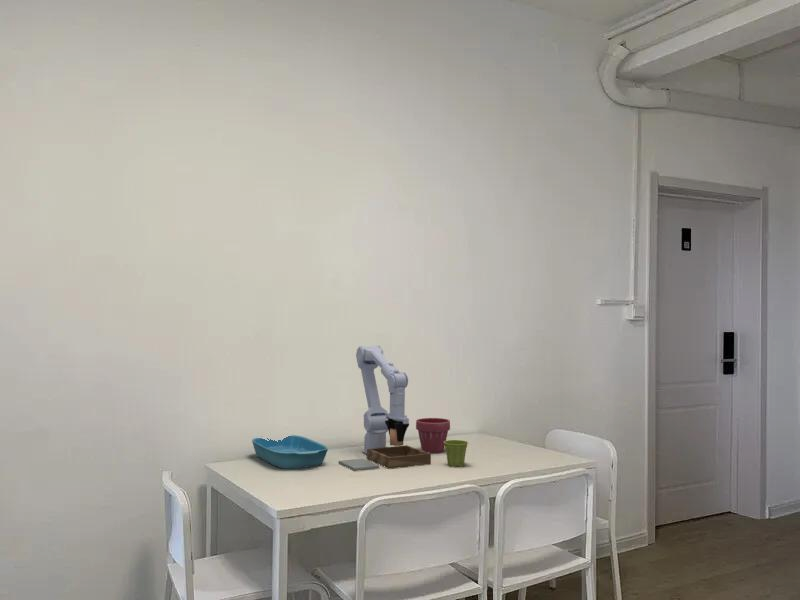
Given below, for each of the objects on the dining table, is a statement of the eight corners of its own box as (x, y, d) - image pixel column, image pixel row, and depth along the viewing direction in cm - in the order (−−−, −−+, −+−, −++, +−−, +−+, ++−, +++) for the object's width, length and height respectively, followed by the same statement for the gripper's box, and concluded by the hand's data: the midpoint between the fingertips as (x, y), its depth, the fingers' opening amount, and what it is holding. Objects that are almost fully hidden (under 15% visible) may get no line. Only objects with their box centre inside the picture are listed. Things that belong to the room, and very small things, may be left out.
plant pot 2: (439, 465, 273) (439, 442, 273) (449, 461, 281) (449, 438, 281) (462, 468, 269) (462, 445, 269) (471, 464, 277) (472, 441, 277)
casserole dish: (337, 467, 268) (337, 448, 268) (280, 474, 256) (281, 454, 256) (295, 450, 299) (296, 432, 300) (243, 455, 288) (244, 437, 288)
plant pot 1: (409, 448, 304) (410, 418, 304) (439, 446, 310) (439, 416, 310) (425, 455, 291) (425, 423, 291) (455, 453, 297) (456, 421, 297)
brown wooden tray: (366, 459, 282) (367, 449, 282) (406, 455, 291) (407, 445, 291) (389, 468, 266) (389, 457, 266) (430, 464, 275) (430, 453, 275)
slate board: (338, 463, 274) (338, 460, 274) (362, 461, 279) (362, 458, 279) (354, 471, 262) (354, 468, 262) (379, 468, 267) (379, 465, 267)
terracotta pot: (387, 443, 279) (387, 428, 279) (399, 442, 282) (399, 427, 282) (394, 446, 275) (394, 430, 275) (405, 445, 277) (406, 429, 277)
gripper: (415, 406, 274) (415, 442, 274) (396, 401, 287) (396, 436, 287) (399, 407, 271) (399, 443, 270) (381, 402, 283) (380, 437, 283)
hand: (396, 440), depth 278 cm, fingers closed on terracotta pot, 5 cm apart
